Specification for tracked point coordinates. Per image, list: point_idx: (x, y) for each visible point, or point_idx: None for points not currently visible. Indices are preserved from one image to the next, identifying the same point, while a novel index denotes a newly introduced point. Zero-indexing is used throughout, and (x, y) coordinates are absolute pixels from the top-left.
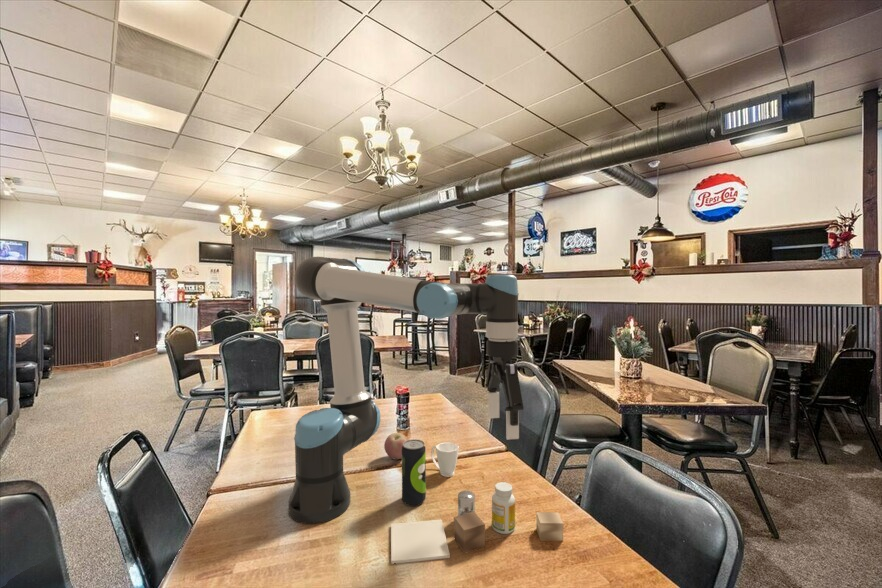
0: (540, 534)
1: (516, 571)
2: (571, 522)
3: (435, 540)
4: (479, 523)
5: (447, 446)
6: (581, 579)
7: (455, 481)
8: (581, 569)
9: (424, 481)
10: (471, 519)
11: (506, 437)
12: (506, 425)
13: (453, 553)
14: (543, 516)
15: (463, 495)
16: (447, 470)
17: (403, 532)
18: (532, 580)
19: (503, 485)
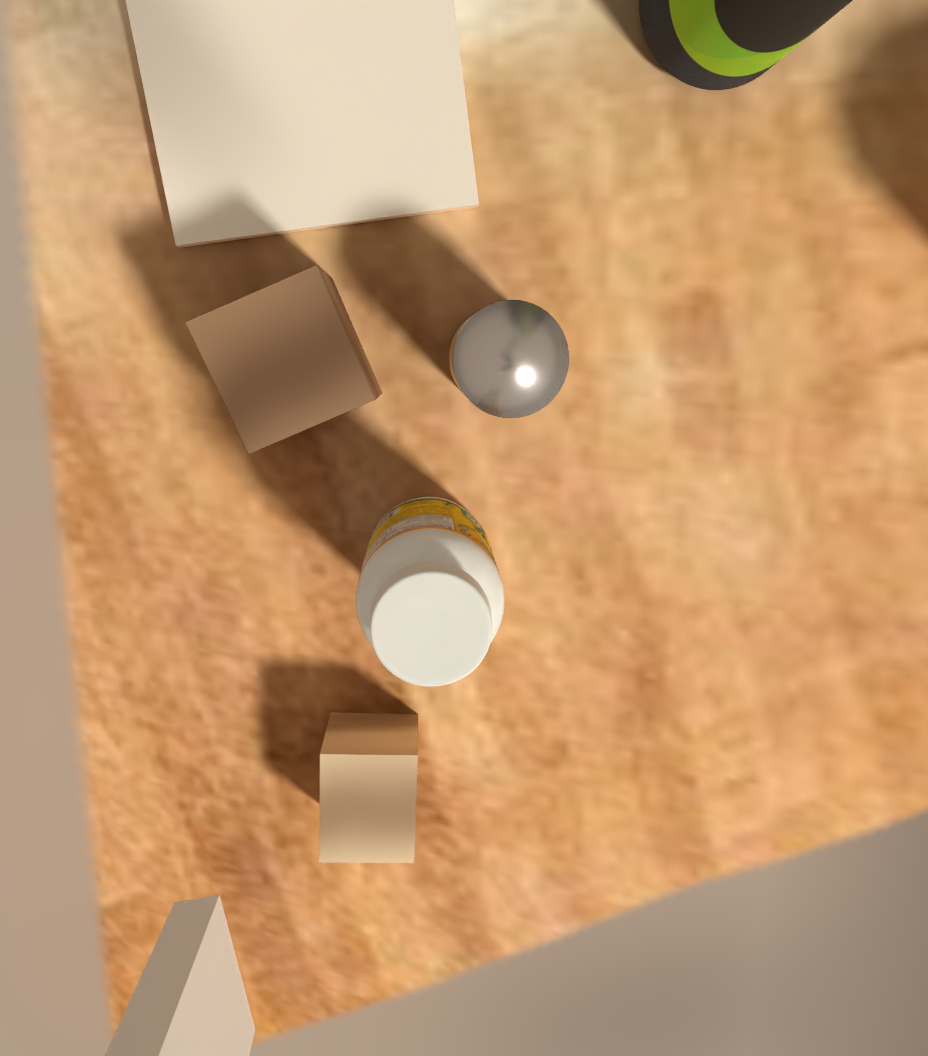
0: (327, 726)
1: (116, 564)
2: (466, 883)
3: (288, 164)
4: (254, 422)
5: None
6: (94, 815)
7: (915, 312)
8: (151, 832)
9: (731, 34)
10: (291, 376)
11: (203, 907)
12: (141, 1049)
13: (216, 268)
14: (378, 782)
15: (508, 339)
16: None
17: None
18: (68, 621)
19: (446, 630)
